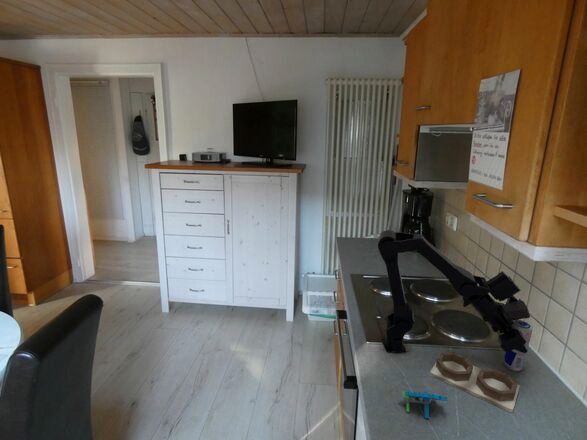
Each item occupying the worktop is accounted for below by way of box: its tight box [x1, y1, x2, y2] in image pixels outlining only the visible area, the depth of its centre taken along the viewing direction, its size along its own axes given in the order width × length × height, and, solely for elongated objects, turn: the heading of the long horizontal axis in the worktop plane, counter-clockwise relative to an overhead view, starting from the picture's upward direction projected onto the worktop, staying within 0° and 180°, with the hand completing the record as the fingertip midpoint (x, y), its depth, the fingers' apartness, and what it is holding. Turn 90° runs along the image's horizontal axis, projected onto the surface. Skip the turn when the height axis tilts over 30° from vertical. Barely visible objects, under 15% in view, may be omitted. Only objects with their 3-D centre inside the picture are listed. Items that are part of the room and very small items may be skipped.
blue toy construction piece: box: [400, 390, 448, 419], centre depth 88 cm, size 11×6×10 cm
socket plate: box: [429, 351, 521, 414], centre depth 98 cm, size 21×11×4 cm, turn 50°
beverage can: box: [503, 319, 533, 372], centre depth 102 cm, size 5×5×15 cm
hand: (523, 346), depth 102 cm, fingers closed on beverage can, 5 cm apart
